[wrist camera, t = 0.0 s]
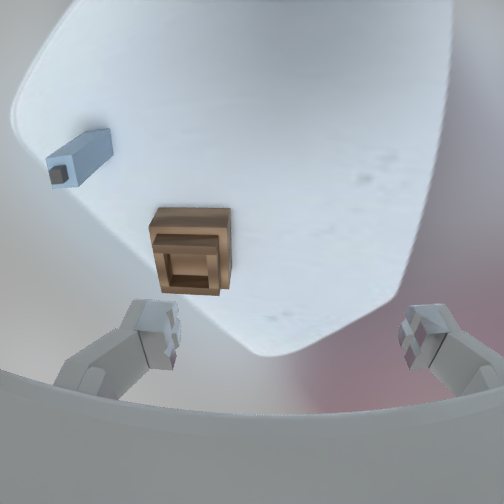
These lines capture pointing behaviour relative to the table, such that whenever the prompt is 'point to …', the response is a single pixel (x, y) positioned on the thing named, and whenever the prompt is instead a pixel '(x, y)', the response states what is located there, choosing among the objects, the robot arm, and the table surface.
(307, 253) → the table surface
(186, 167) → the table surface
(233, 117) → the table surface
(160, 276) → the socket block
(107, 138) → the plug block
